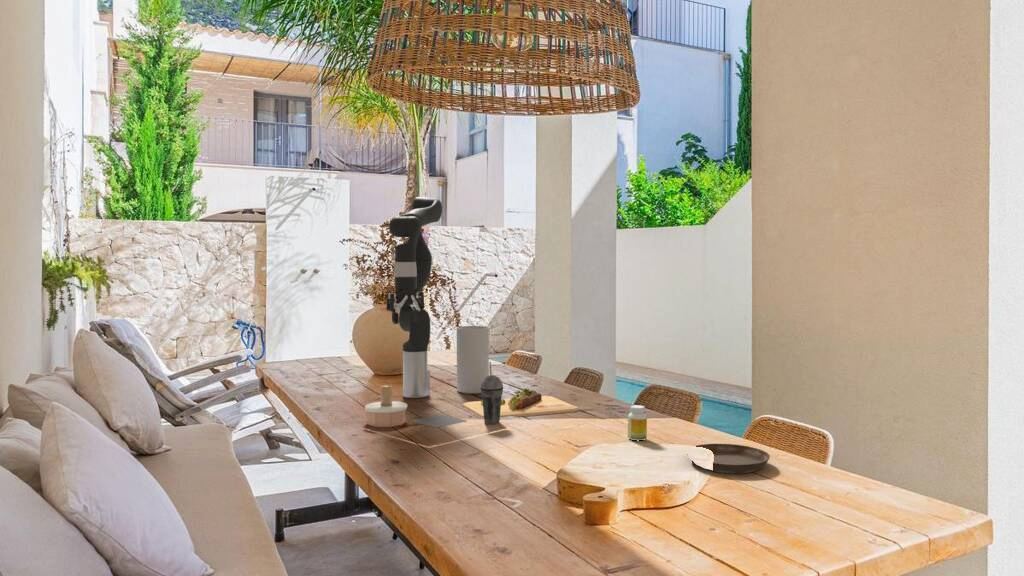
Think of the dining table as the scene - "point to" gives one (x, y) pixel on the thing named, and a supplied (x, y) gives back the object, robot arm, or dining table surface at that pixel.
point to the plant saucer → (736, 458)
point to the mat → (438, 421)
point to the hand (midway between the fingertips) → (405, 322)
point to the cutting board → (526, 405)
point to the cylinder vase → (472, 358)
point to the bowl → (385, 419)
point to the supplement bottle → (637, 423)
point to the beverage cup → (491, 398)
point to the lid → (386, 403)
